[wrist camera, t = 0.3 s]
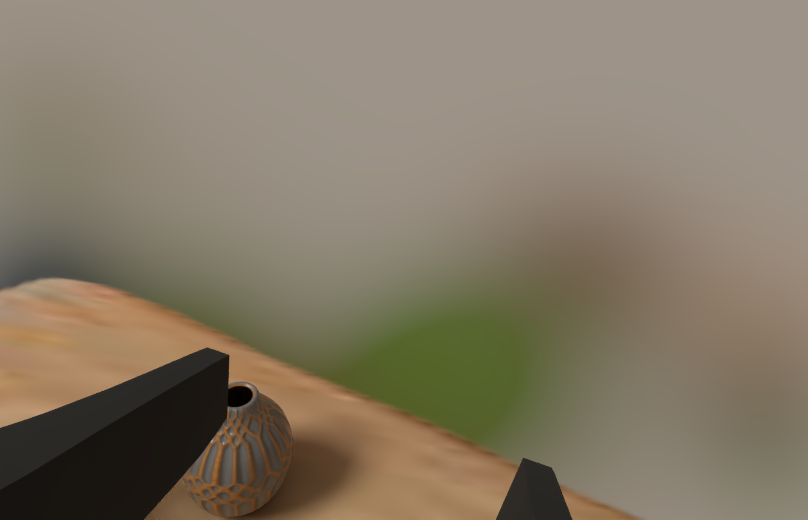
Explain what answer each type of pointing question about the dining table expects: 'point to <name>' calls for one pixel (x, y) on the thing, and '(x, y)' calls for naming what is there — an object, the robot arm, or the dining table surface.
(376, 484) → the dining table surface
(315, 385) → the dining table surface
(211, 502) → the vase
